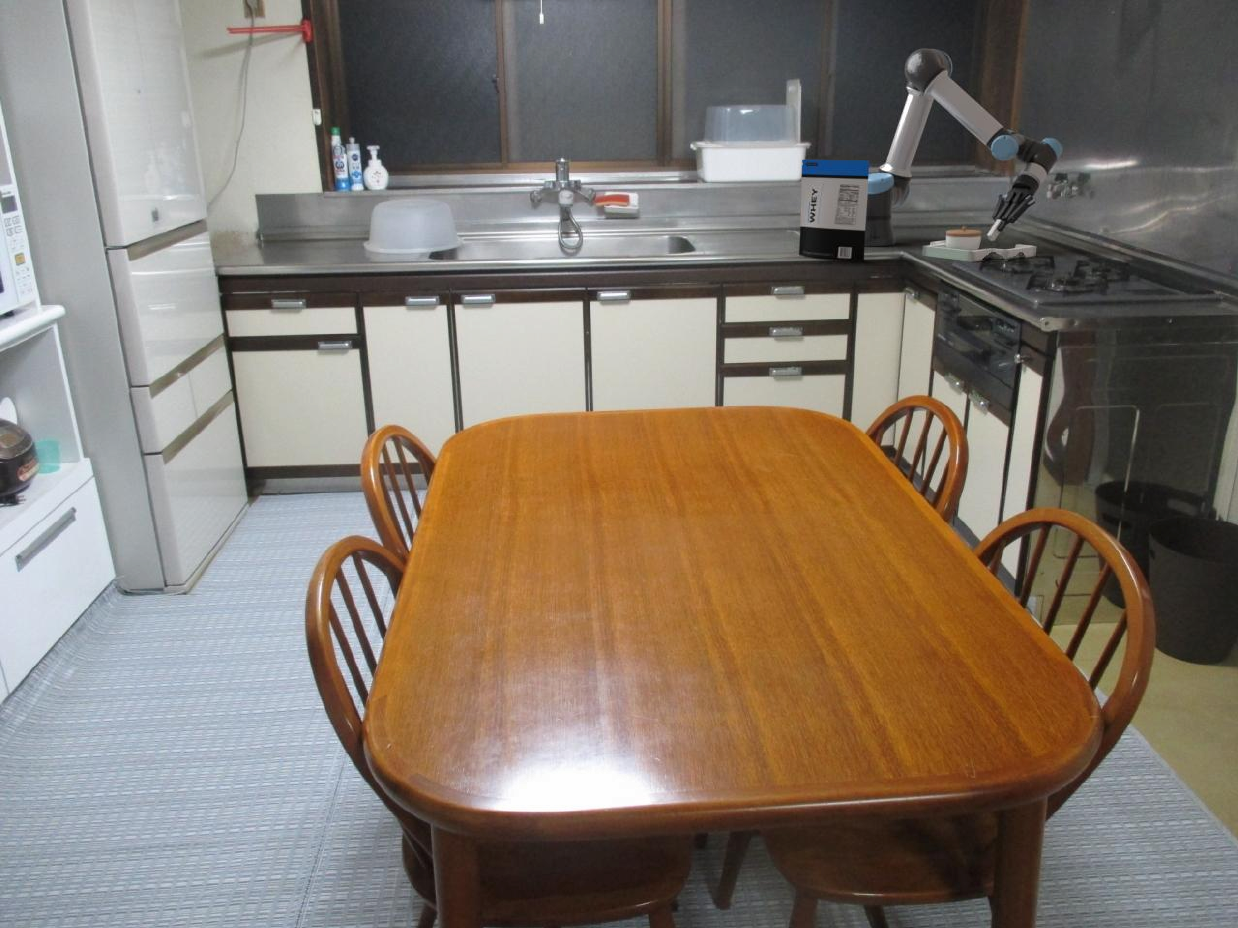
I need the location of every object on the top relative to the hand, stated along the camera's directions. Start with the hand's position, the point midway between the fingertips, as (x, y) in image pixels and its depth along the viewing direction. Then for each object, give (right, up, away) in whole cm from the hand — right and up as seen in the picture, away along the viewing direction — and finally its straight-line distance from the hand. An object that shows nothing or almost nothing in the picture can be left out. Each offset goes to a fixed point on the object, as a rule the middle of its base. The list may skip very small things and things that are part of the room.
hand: (990, 238), depth 328 cm
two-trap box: (-7, -6, -2) cm, 9 cm away
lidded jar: (-11, -7, -5) cm, 14 cm away
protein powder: (-51, -7, -1) cm, 52 cm away
